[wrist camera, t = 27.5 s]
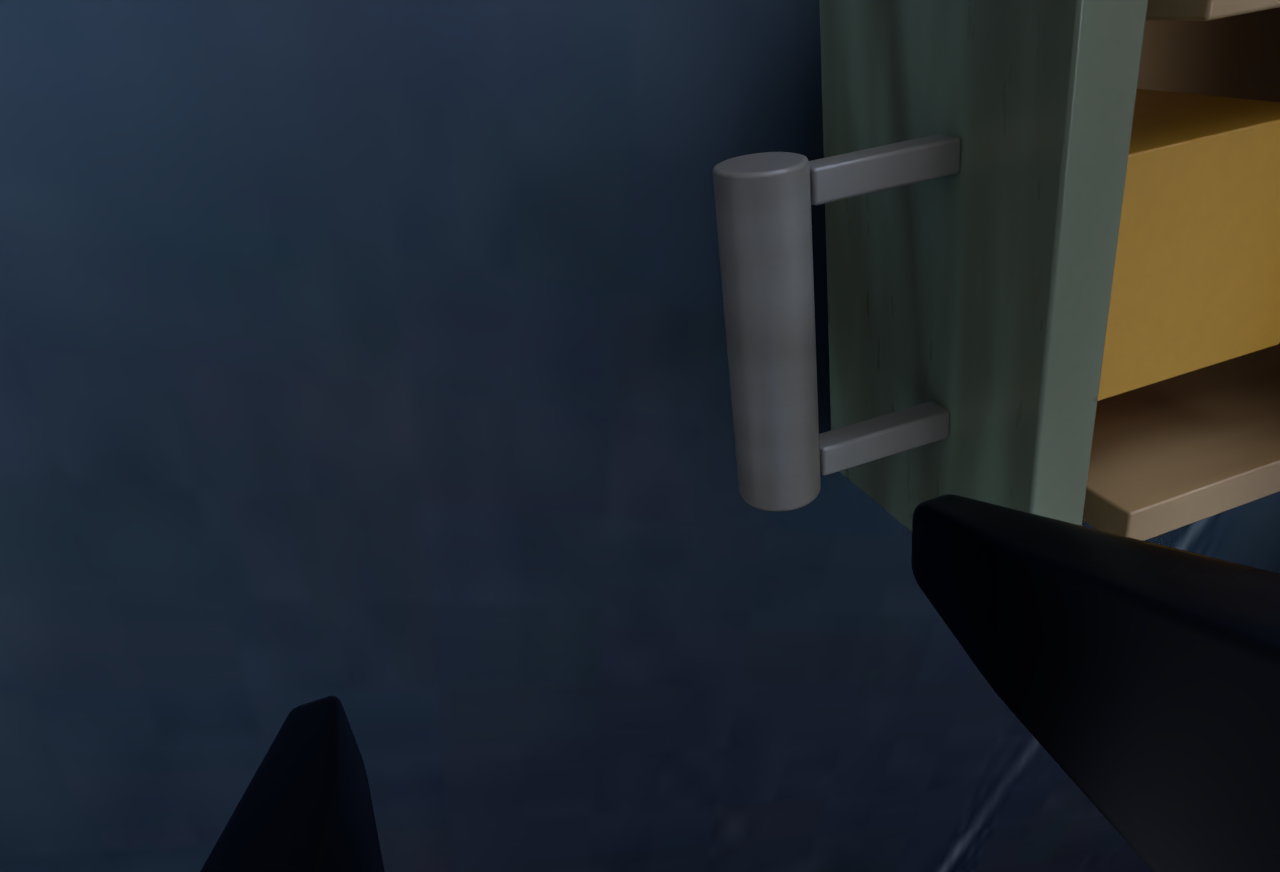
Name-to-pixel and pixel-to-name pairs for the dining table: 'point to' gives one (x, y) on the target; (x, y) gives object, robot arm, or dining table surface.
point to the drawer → (984, 268)
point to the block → (1195, 239)
